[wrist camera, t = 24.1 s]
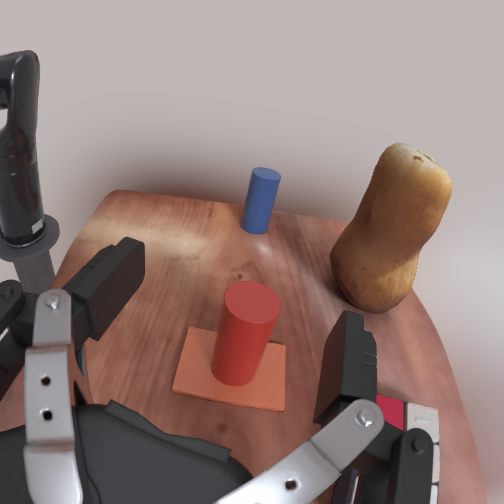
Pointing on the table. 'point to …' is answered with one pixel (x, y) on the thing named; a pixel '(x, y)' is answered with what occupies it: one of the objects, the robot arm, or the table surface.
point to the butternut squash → (390, 229)
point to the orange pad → (209, 387)
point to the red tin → (244, 331)
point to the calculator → (404, 419)
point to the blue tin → (260, 200)
